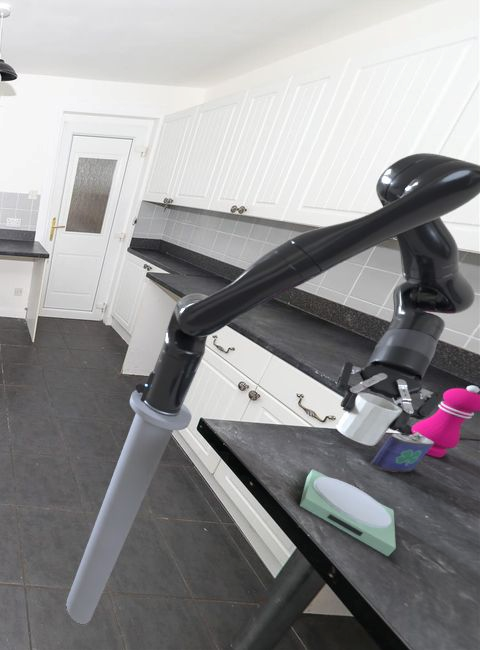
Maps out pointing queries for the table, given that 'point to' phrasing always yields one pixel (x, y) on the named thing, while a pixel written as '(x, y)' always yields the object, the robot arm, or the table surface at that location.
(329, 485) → the scale
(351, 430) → the cup
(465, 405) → the pepper mill
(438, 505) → the table surface
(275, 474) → the table surface
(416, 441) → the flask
